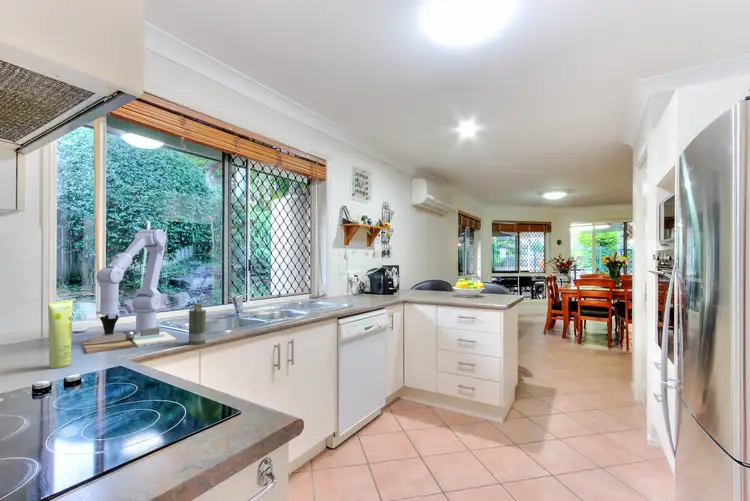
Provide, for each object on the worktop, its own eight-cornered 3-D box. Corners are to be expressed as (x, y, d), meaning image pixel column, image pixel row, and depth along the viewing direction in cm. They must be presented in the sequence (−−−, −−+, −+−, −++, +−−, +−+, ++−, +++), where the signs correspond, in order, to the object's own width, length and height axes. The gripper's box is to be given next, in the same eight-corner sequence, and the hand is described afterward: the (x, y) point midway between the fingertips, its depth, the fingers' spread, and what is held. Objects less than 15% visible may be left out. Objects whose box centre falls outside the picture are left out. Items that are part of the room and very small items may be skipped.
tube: (69, 367, 110) (70, 301, 111) (46, 370, 108) (48, 302, 108) (71, 362, 115) (72, 299, 115) (50, 365, 112) (51, 300, 113)
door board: (127, 338, 148) (127, 329, 148) (164, 333, 157) (164, 325, 157) (137, 346, 135) (137, 337, 135) (176, 341, 144) (176, 332, 144)
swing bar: (133, 337, 144) (133, 330, 144) (135, 339, 142) (135, 331, 142) (88, 342, 135) (88, 335, 135) (89, 344, 132) (89, 336, 132)
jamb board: (81, 343, 139) (81, 340, 139) (127, 338, 148) (127, 335, 148) (86, 353, 125) (86, 350, 125) (136, 346, 135) (136, 343, 135)
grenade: (186, 342, 142) (187, 303, 142) (203, 340, 146) (204, 301, 146) (190, 345, 137) (190, 304, 137) (207, 343, 141) (208, 303, 141)
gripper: (94, 298, 145) (93, 333, 145) (98, 302, 134) (98, 340, 134) (116, 297, 150) (115, 331, 150) (122, 300, 139) (121, 337, 139)
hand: (108, 335), depth 142 cm, fingers closed
